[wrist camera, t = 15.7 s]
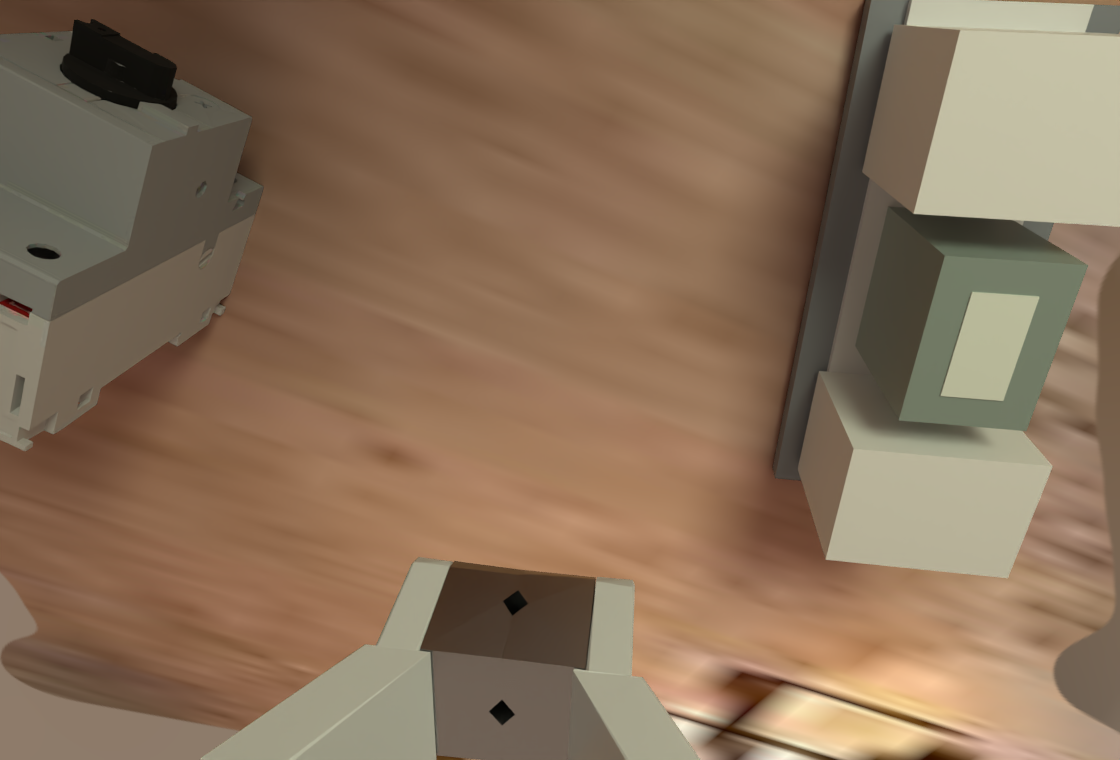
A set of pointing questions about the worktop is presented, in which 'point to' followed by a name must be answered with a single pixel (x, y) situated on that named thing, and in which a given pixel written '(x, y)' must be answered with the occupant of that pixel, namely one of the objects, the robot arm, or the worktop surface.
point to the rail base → (947, 190)
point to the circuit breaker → (106, 217)
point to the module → (965, 318)
